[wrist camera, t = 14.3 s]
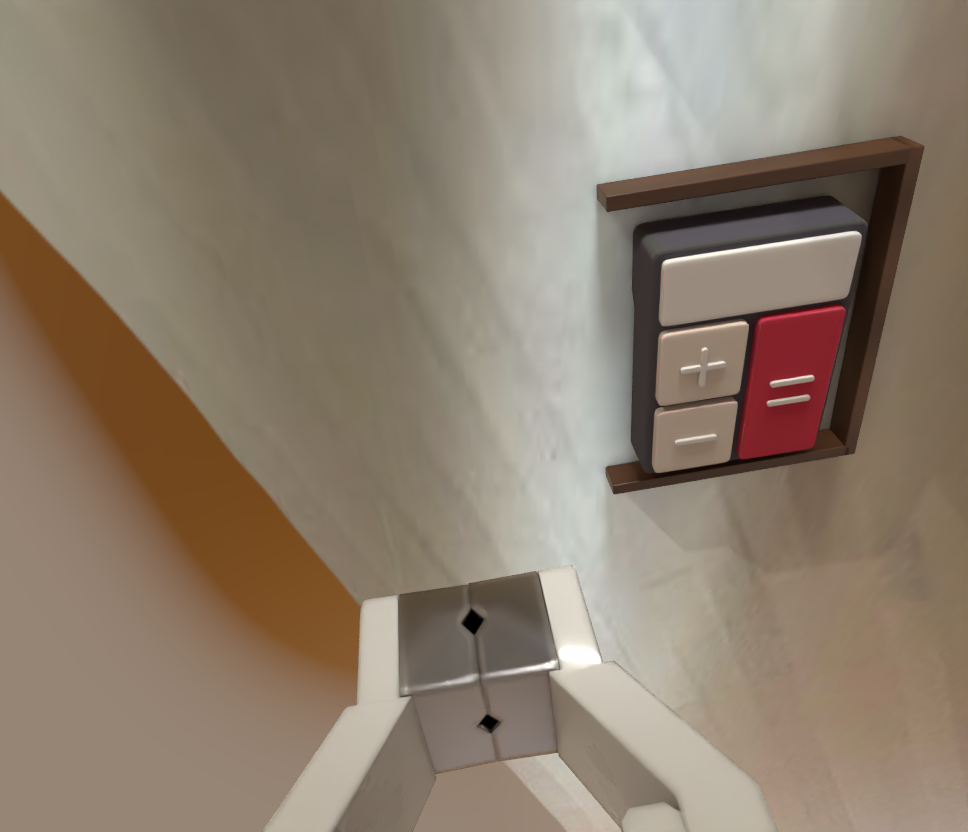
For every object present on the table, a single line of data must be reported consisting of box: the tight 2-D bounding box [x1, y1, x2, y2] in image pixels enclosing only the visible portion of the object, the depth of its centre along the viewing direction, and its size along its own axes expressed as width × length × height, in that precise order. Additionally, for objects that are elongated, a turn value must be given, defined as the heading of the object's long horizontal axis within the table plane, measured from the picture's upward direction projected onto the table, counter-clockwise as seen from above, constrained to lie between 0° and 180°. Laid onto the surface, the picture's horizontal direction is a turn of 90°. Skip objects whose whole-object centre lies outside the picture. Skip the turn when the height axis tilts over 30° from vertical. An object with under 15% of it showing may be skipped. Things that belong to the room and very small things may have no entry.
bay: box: [597, 136, 924, 494], centre depth 42 cm, size 20×16×2 cm
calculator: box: [631, 196, 868, 473], centre depth 41 cm, size 11×4×15 cm
